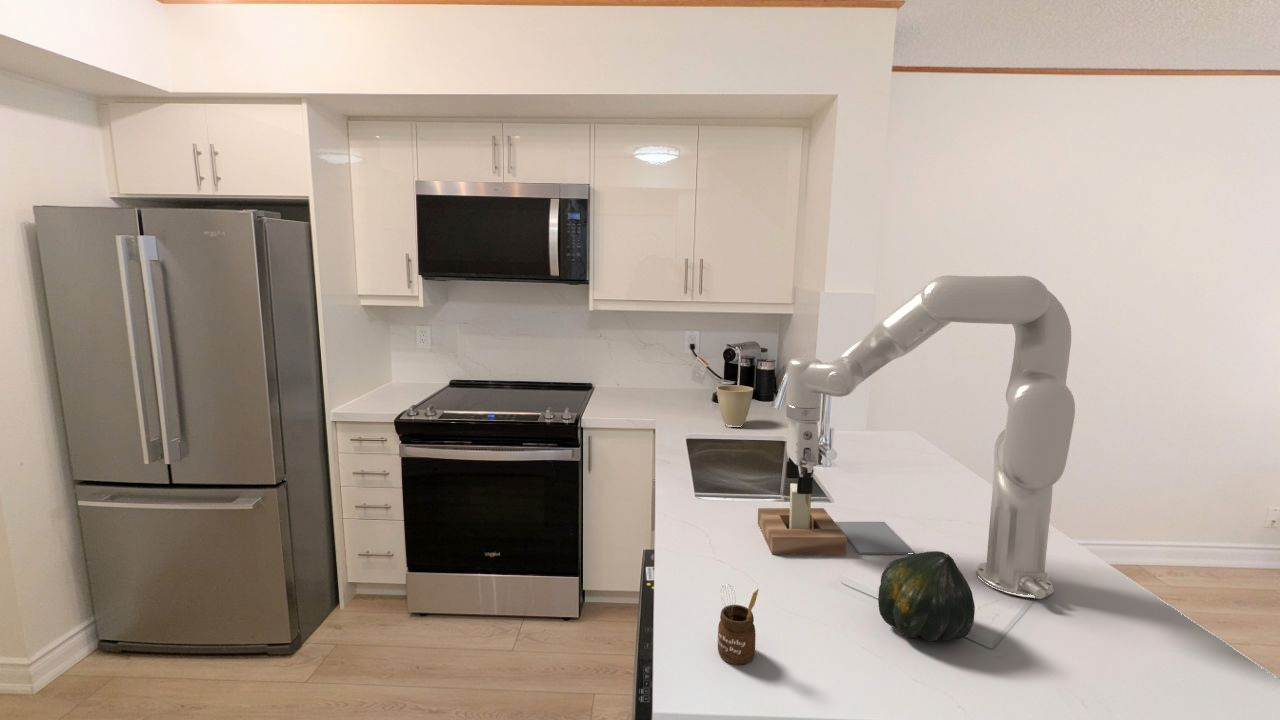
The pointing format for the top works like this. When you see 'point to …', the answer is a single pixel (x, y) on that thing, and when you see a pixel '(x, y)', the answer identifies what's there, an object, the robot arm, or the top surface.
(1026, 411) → the robot arm
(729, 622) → the utensil holder
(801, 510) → the skincare box
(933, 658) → the top surface
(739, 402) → the plant pot
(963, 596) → the squash
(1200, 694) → the top surface
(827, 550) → the pocket block
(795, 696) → the top surface
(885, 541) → the slate mat
